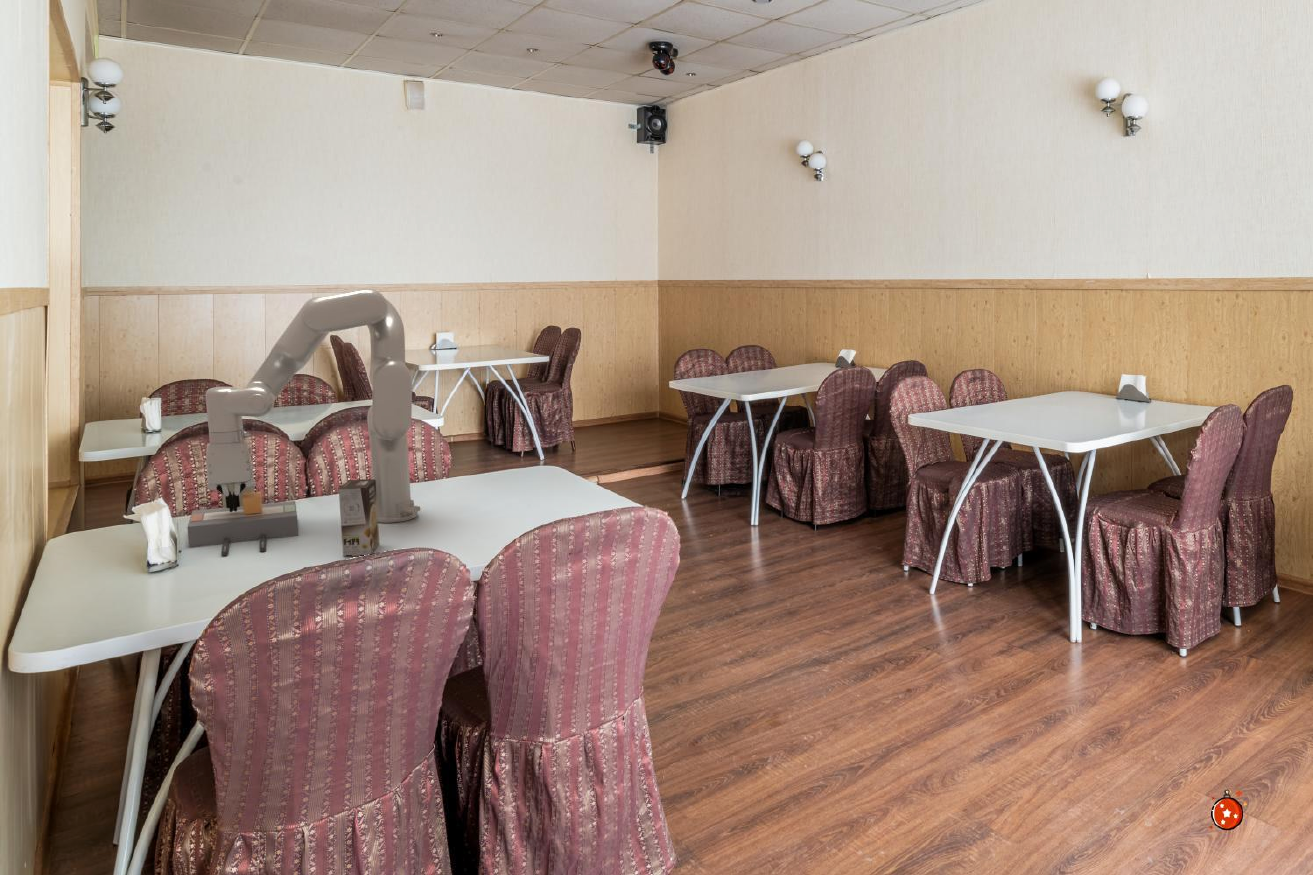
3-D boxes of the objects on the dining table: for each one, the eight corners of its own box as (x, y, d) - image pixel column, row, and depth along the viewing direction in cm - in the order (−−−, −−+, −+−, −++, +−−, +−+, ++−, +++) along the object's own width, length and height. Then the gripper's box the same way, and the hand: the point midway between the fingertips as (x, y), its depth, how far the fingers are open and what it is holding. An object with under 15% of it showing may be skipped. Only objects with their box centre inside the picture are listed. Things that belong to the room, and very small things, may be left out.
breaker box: (296, 519, 231) (295, 500, 231) (300, 547, 207) (298, 526, 206) (194, 529, 222) (192, 510, 221) (185, 561, 197) (182, 539, 196)
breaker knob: (262, 506, 223) (260, 491, 222) (261, 512, 217) (260, 496, 217) (244, 508, 221) (243, 493, 221) (244, 514, 216) (242, 498, 215)
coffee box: (371, 556, 201) (366, 487, 198) (342, 556, 200) (337, 488, 197) (380, 544, 210) (376, 478, 207) (352, 544, 209) (348, 479, 206)
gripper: (260, 433, 221) (266, 503, 224) (193, 437, 215) (200, 510, 218) (260, 437, 214) (266, 510, 217) (191, 442, 208) (198, 517, 211)
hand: (233, 510), depth 218 cm, fingers closed
